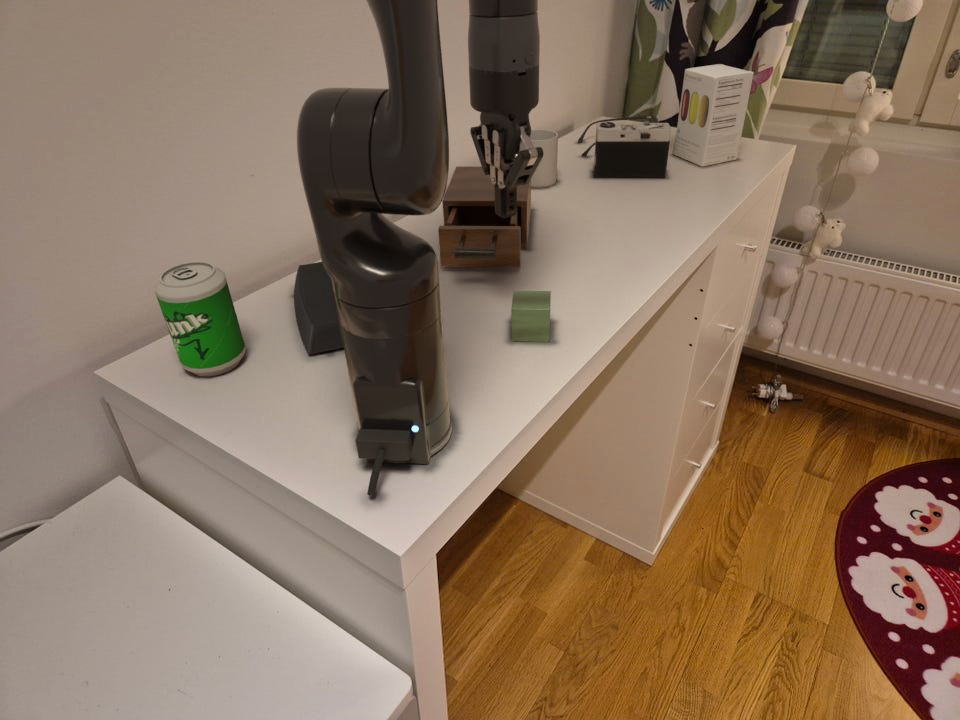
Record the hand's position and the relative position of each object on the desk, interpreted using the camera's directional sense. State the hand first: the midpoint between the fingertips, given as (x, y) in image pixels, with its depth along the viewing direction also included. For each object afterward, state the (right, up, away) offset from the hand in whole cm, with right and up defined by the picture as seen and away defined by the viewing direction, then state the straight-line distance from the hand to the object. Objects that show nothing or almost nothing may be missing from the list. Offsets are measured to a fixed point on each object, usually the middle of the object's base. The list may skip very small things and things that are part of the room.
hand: (506, 215), depth 79 cm
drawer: (-3, -2, +20) cm, 20 cm away
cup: (+7, +17, +48) cm, 51 cm away
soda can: (-35, -18, 0) cm, 39 cm away
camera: (+26, +19, +50) cm, 60 cm away
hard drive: (-21, -11, +9) cm, 26 cm away
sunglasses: (+27, +28, +63) cm, 74 cm away
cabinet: (-1, +4, +30) cm, 30 cm away
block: (+3, -14, +3) cm, 15 cm away
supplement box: (+43, +24, +56) cm, 74 cm away
